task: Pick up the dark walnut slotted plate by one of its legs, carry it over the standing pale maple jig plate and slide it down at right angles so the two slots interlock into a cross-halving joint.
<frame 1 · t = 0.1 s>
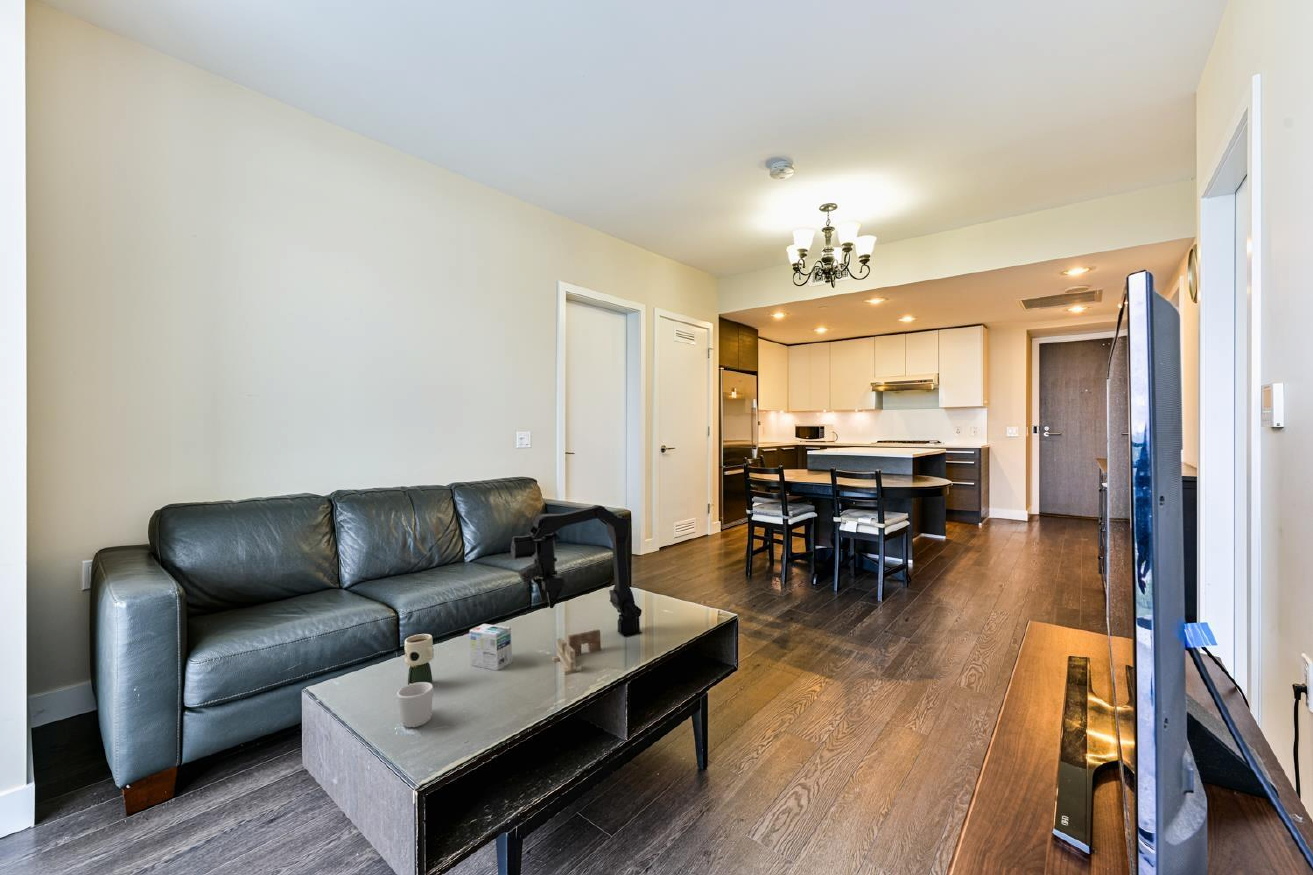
hand: (547, 604, 174), 15 cm above the table, fingers open, 9 cm apart
character mug: (420, 685, 152), on the table
walnut plate: (585, 652, 171), on the table
maple jig: (566, 664, 162), on the table
cup: (418, 720, 133), on the table
light bulb box: (491, 664, 165), on the table
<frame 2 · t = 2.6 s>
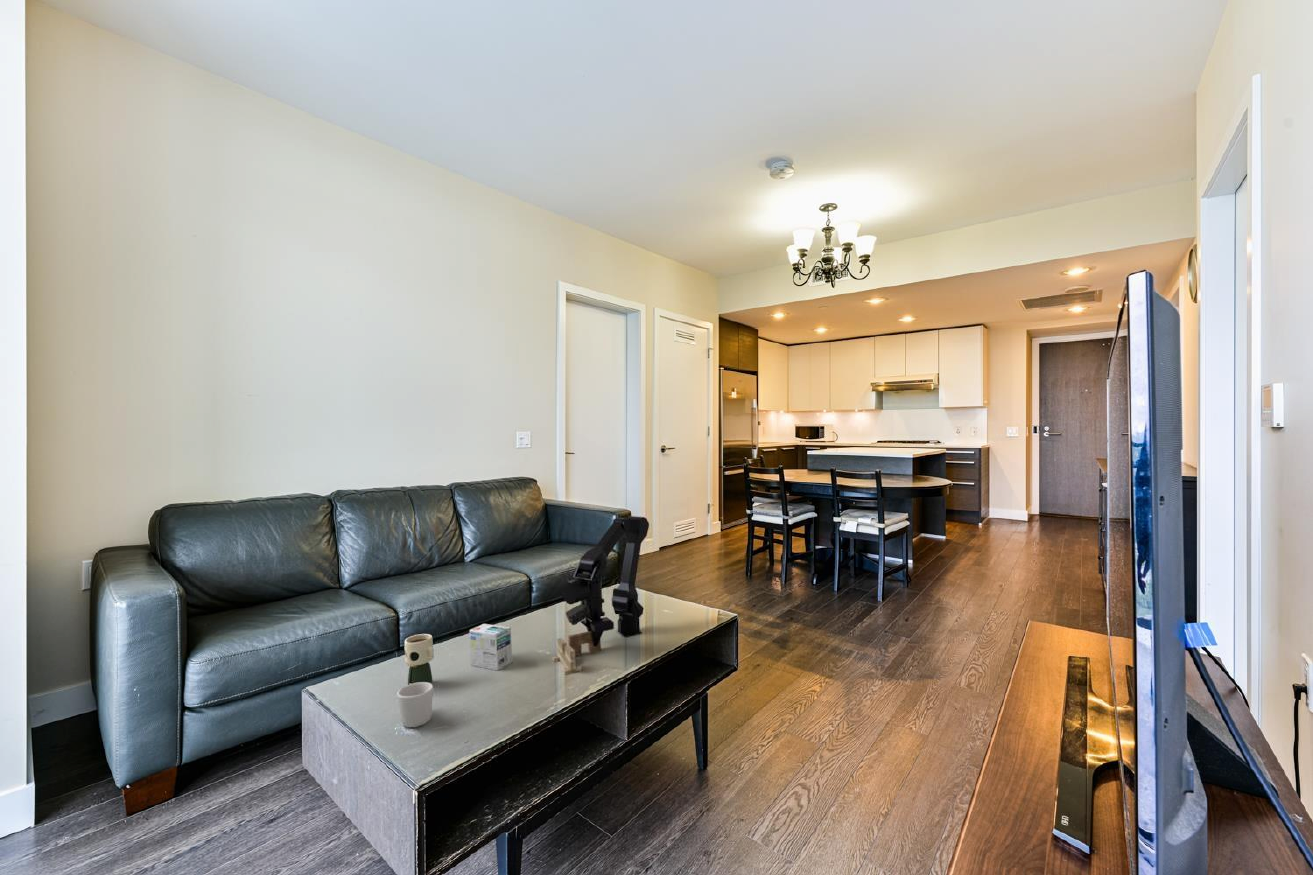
hand: (594, 645, 173), 2 cm above the table, fingers closed on walnut plate, 1 cm apart
walnut plate: (585, 652, 171), on the table, touching gripper
everything else where it was.
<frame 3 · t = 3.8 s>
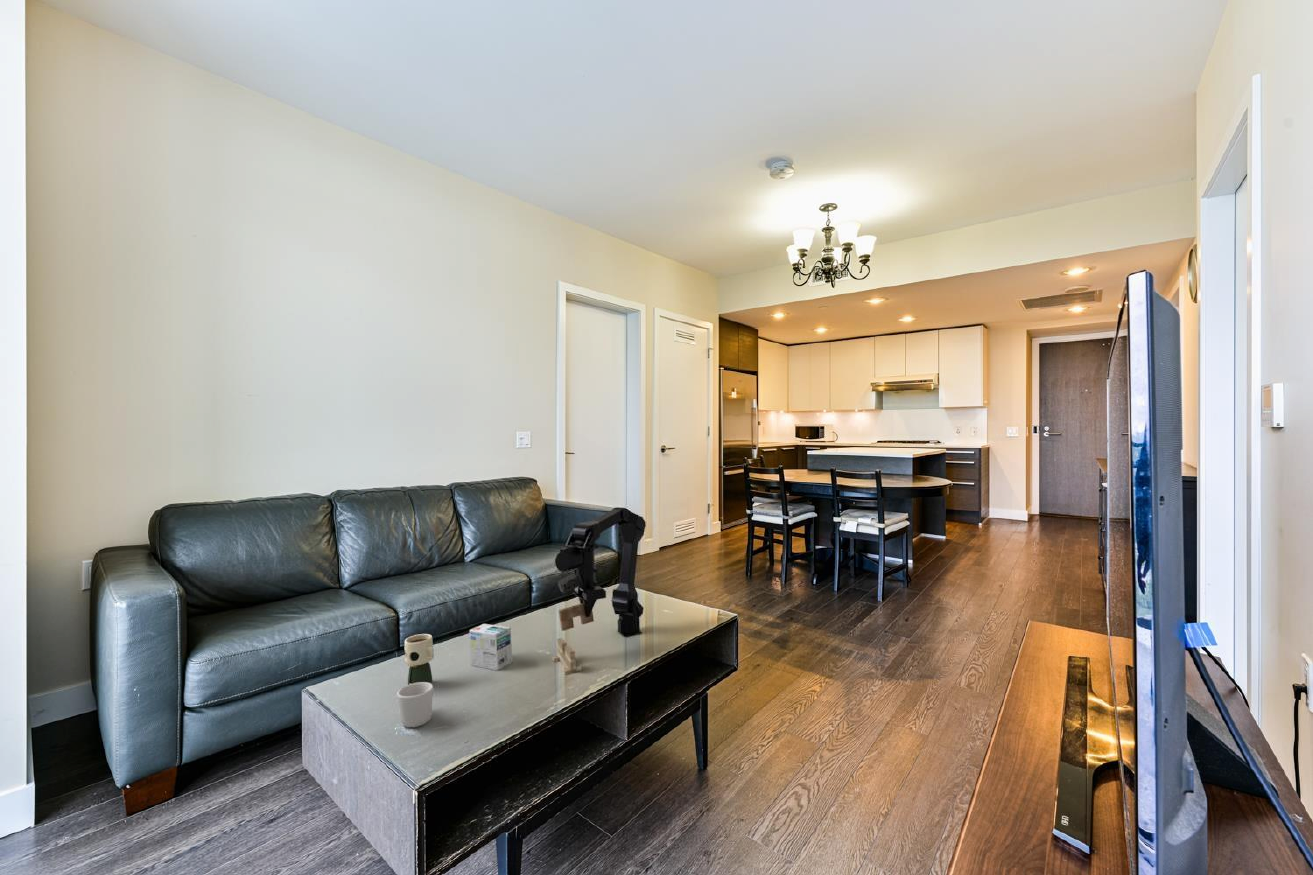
hand: (586, 616, 169), 12 cm above the table, fingers closed on walnut plate
walnut plate: (577, 625, 168), point 10 cm above the table, tilted 6°, touching gripper
everything else where it was.
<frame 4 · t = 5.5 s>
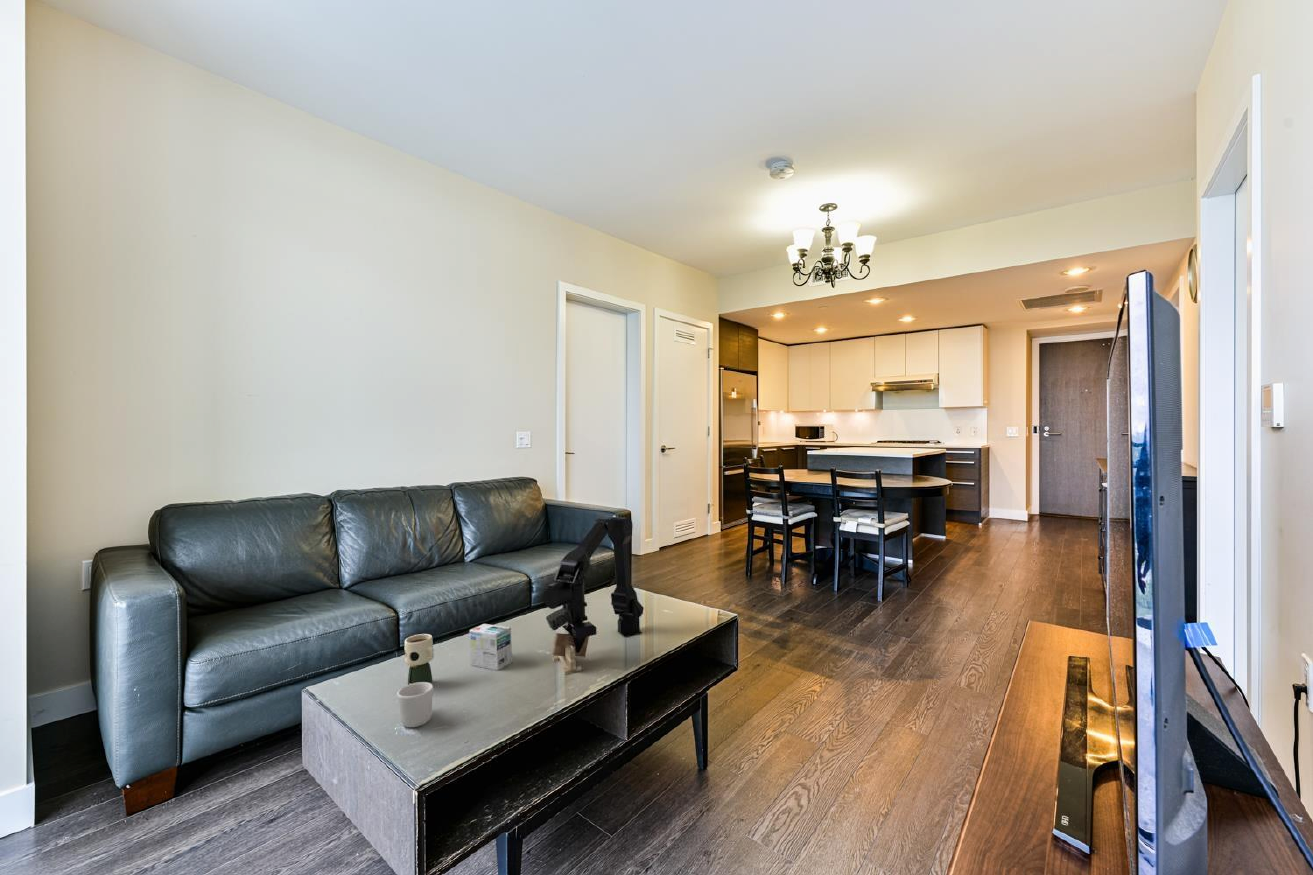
hand: (576, 651, 164), 3 cm above the table, fingers closed on walnut plate, 1 cm apart
walnut plate: (568, 655, 163), point 3 cm above the table, tilted 14°, touching gripper, maple jig
everything else where it was.
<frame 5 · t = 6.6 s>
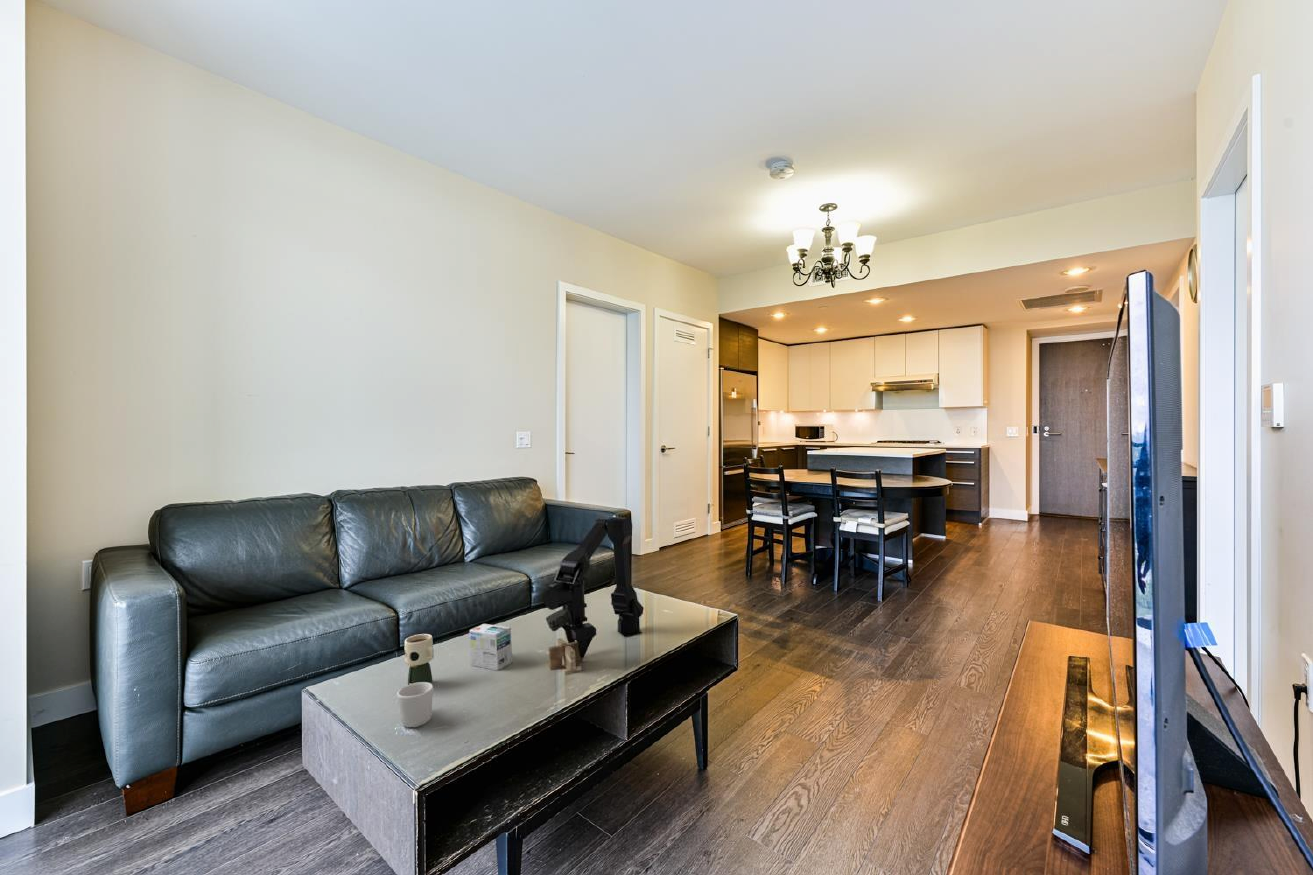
hand: (576, 652, 164), 3 cm above the table, fingers open, 9 cm apart
walnut plate: (566, 664, 162), on the table, touching maple jig
everything else where it was.
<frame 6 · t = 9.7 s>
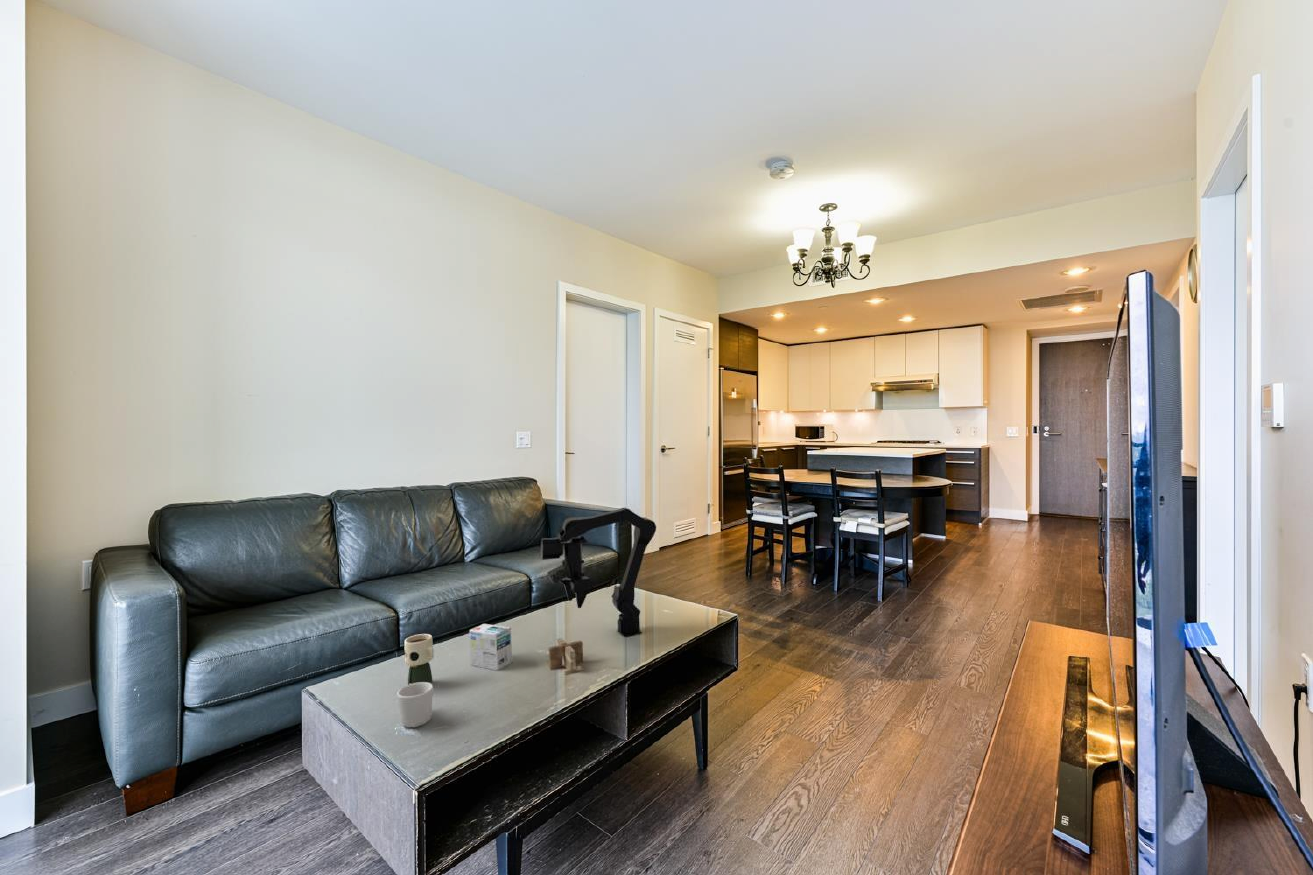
hand: (574, 604, 181), 12 cm above the table, fingers open, 9 cm apart
nothing on the table moved.
at the end: walnut plate 0.0 cm off-centre on the maple jig, point 0.0 cm above the maple jig's base; walnut plate tilted 0°; the gripper is holding nothing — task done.
